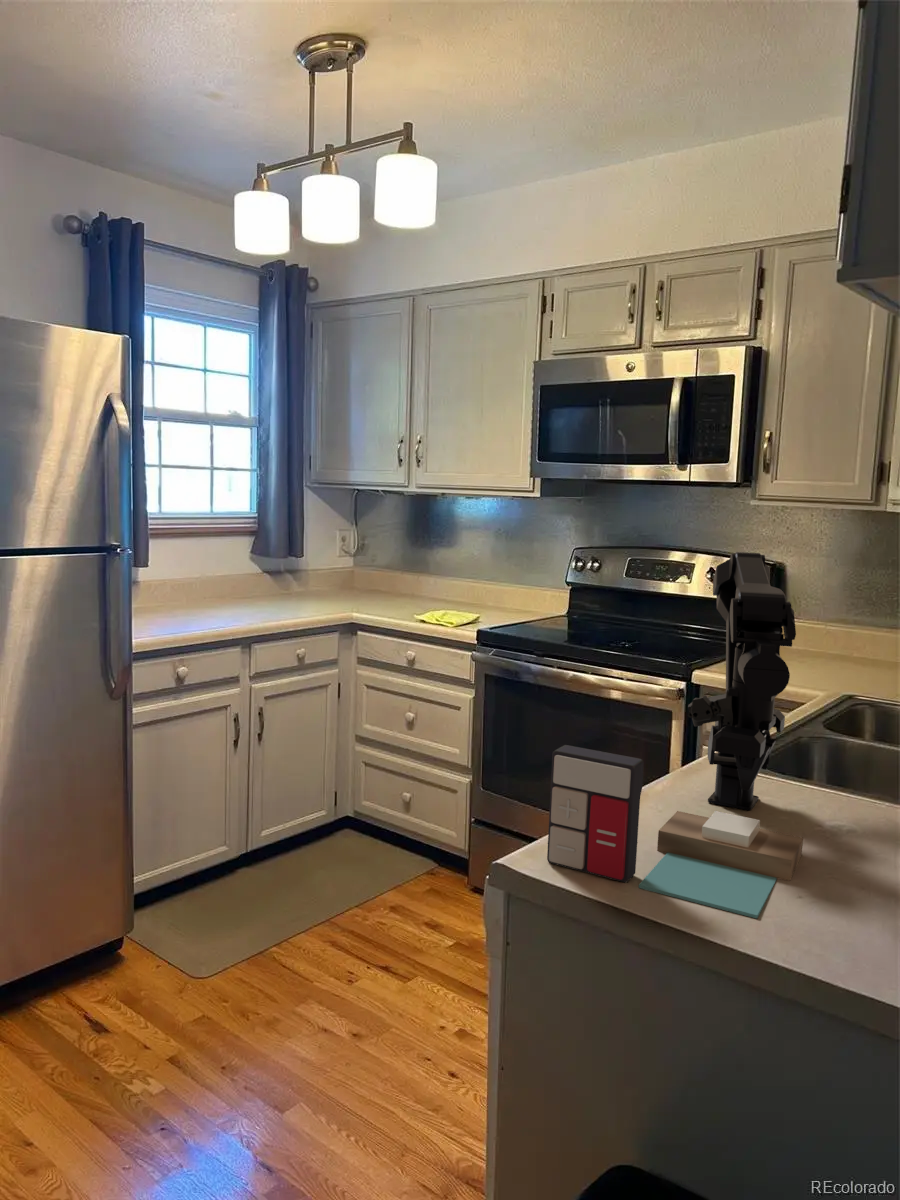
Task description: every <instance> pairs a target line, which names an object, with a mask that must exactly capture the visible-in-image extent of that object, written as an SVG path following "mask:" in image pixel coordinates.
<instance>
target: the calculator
mask: <svg viewBox="0 0 900 1200" xmlns="http://www.w3.org/2000/svg"><path fill="white" fill-rule="evenodd" d="M551 757H552V758H551V775H550V778H551V779H550V794H549V795H550V798H549V814H548V815H549V817H548V832H547V833H548V834H547V835H548V837H547V853H546V855H547V856H546V857H547V862H548V863H550V864H553V865H555V866H556V865H557V866H561V867H563V868H568V869H572V870H575V871H580V872H584V873H587V874H591V875H595V876H598V877H602V878H606V879H608V880H614V881H618V882H622V883H628V882H629V881H630V880H631V879H632V877H633V876H634V875H635V874H636V867H637V854H638V853H637V852H638V837H639V836H638V835H639V821H640V820H639V819H640V805H641V795H642V790H643V781H644V779H643V778H644V765H645V764H644V762H645V761H644V760H643V759H641V758H639V757H632V756H626V755H623V754H622V755H621V754H616V753H611V752H605V751H600V750H595V749H589V748H585V747H579V746H573V745H567V744H564V745H562V746H560V747H558V748H557V749H555V750H554V751H552V756H551Z"/></svg>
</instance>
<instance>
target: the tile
mask: <svg viewBox="0 0 900 1200" xmlns="http://www.w3.org/2000/svg"><path fill="white" fill-rule="evenodd" d="M708 818H709V819H708V820H707V821H706V823H705V824H704V825H703V826H702V837H703V838H707V839H712V840H716V841H721V842H725V843H730V844H734V845H739V846H743V847H749V846H750V844H751V842H752V841H753V839H754V838H755V836H756V835H757V833H758V832H759V828H761V827H760V826H761V820H760V819H756V818H751V817H746V816H742V815H738V814H732V813H727V812H722V811H717V810H714V812H713V813H712V814H711V816H710V817H708Z"/></svg>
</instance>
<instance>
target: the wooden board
mask: <svg viewBox="0 0 900 1200" xmlns="http://www.w3.org/2000/svg"><path fill="white" fill-rule="evenodd" d="M709 818H710V817H707V816H703V815H700V814H699V815H698V814H694V813H688V812H685V811H679V810H677V811H676V812H675V813H674V814H672V816H671V817H670V818H669V819H668V820H667V821H666V822H665V823H664V824H663V825H662V827H660V828H659V829H658V833H657V835H658V836H657V847H656V848H657V849H656V851H657V852H660V853H666V854H667V852H669V853H673V854H677V855H681V856H686V857H690V858H694V859H698V860H703V861H707V862H711V863H715V864H720V865H724V866H728V867H732V868H737V869H741V870H745V871H749V872H753V873H758V874H762V875H766V876H770V877H775V878H777V879H780V880H785V881H788V882H790V881H791V879H792V878H793V875H794V873H795V871H796V869H797V867H798V864H799V862H800V860H801V858H802V855H803V844H804V837H802V836H797V835H794V834H793V835H792V834H788V833H784V832H778V831H774V830H770V829H769V830H768V829H765V828H761V827H759V832H758V833H757V835H756V836H755V838H754V839H753V841H752V842H751V844H750V846H749V847H743V846H739V845H734V844H730V843H725V842H721V841H716V840H712V839H707V838H703V837H702V826H703V825H704V824H705V823H706V821H707V820H708V819H709Z"/></svg>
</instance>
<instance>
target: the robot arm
mask: <svg viewBox="0 0 900 1200" xmlns="http://www.w3.org/2000/svg"><path fill="white" fill-rule="evenodd" d="M770 574H771V570H770V567H769V566H768V565H767V563H766V556H765V554H761V553H760V552H745V551H736V552H735V553H731V554H730V557H729V559H728V560H726V561H724V562H721V563H720V564H718V565H716V567H715V571H714V574H713V582H712V595H713V596H716V611H718V613H719V614H720V616H721V617H722V619H723V620H724V621H725V627H726V629H725V631H726V633H725V636H726V637H725V641H726V642H725V693H724V694H719V695H718V694H717V695H712V696H706V695H704V696H702V697H695V698H693V699H692V701H691V702H690V703H689V704H688V706H687V708H688V713H687V717H688V718H690V719H691V720H692V723H693V726H694V727H700V726H701V727H702V726H703V725H704V724H709V723H710V724H711V723H714V724H713V725H711V728H710V732H709V736H708V737H709V738H708V743H707V760H708V764H709V765H716V769H715V770H716V772H715V783H714V784H715V785H714V791H713V793H711V795H710V796H708V798H707V802H708V803H711V804H715V805H720V806H725V807H730V808H735V809H739V810H744V811H752V809H753V808H754V807H755V805H756V804H757V803H758V801H759V800H758V799H759V798H760V797H759V796H758V795H754V791H755V789H754V788H755V781H756V779H757V777H758V775H759V773H760V771H761V770H765V771H766V770H767V768H768V767H770V762H771V761H770V760H771V754H772V751H773V747H774V745H775V744H776V739H775V738H772V737H771V733H770V730H771V729H772V728H775V729H776V733H782V732H783V731H784V730H785V720H786V716H785V715H784V714H783V713H782V711H781V710H780V709H776V708H775V699H776V697H777V696H778V695H779V694H780V693H782V692H784V690H786V688H787V686H788V684H789V682H790V675H791V673H790V670H789V667H788V665H787V663H786V661H785V660H784V659H783V657H781V655H780V651H781V649H780V648H781V647H789V648H792V647H793V641H795V640H796V636H797V630H796V617H795V611H794V609H793V608H792V603H791V602H790V601H788V600H787V597H786V595H785V593H784V591H782V589H781V588H778V587H774V586H771V583H770V582H771V581H770V580H771V575H770Z"/></svg>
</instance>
